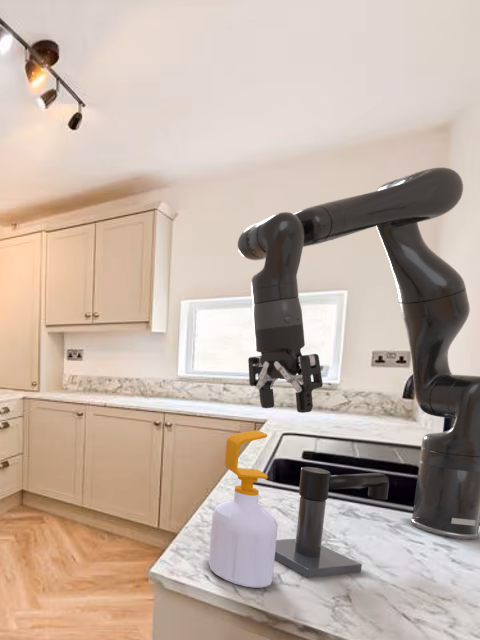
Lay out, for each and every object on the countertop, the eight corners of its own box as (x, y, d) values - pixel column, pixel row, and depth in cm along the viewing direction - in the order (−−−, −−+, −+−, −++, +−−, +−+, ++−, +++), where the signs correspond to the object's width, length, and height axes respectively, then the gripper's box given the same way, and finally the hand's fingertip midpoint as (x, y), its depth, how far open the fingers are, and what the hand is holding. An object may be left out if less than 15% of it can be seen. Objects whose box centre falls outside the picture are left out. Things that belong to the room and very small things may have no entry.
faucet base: (304, 544, 82) (310, 486, 81) (361, 572, 73) (368, 507, 71) (256, 549, 80) (262, 489, 79) (307, 578, 71) (315, 510, 69)
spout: (370, 492, 80) (374, 463, 80) (395, 500, 76) (399, 470, 76) (292, 497, 77) (295, 467, 76) (314, 506, 73) (317, 474, 72)
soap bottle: (283, 592, 66) (298, 439, 64) (220, 585, 68) (232, 435, 66) (256, 563, 75) (269, 427, 73) (201, 557, 77) (211, 424, 74)
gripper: (330, 318, 73) (338, 411, 74) (267, 326, 87) (274, 403, 88) (289, 323, 72) (298, 417, 73) (232, 330, 87) (240, 408, 87)
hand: (285, 409), depth 81 cm, fingers open, 8 cm apart
